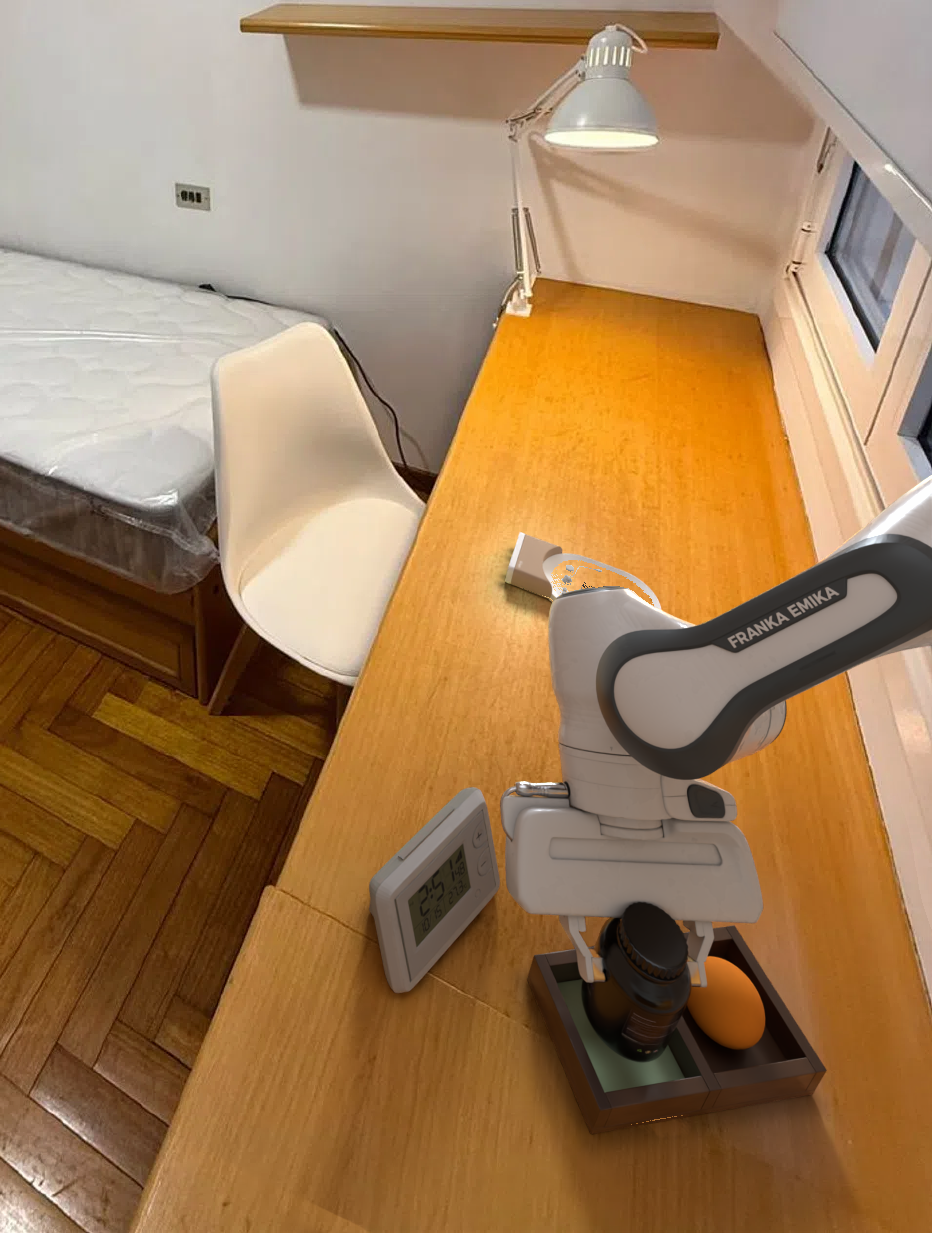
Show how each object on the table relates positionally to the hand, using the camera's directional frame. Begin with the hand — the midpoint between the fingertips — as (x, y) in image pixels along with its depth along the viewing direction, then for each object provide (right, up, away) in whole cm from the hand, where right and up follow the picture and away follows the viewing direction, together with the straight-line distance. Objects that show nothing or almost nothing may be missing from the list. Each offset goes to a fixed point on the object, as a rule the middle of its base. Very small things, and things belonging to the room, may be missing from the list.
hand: (643, 982), depth 67 cm
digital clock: (-14, -6, +13) cm, 20 cm away
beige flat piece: (+19, +10, +52) cm, 57 cm away
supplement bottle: (0, -6, +3) cm, 7 cm away
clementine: (+9, -6, +4) cm, 12 cm away
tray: (+5, -9, +5) cm, 12 cm away
